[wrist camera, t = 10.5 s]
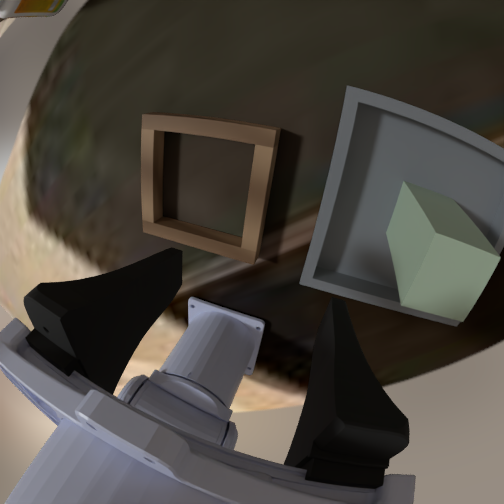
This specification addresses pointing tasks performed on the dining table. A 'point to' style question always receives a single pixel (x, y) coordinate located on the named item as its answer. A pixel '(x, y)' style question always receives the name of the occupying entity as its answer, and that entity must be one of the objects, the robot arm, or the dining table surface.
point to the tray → (395, 193)
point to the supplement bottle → (30, 8)
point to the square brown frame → (258, 190)
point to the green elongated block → (438, 254)
